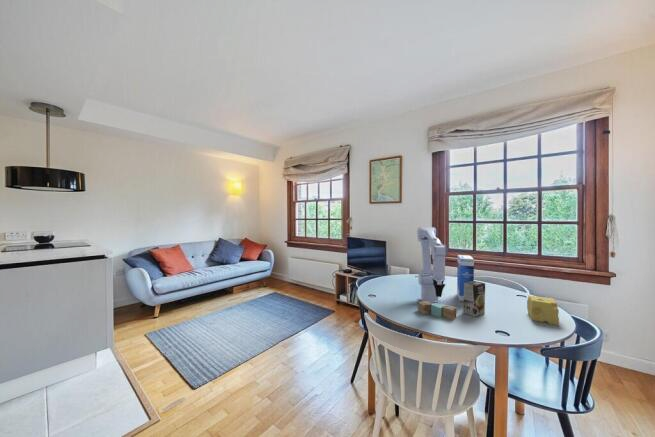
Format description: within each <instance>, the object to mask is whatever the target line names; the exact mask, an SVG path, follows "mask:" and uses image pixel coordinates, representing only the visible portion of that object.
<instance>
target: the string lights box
mask: <svg viewBox="0 0 655 437" xmlns="http://www.w3.org/2000/svg"><path fill="white" fill-rule="evenodd" d="M456 264H457V275H456V277H457V282H456V283H457V285H456V286H457V287H456V288H457V290H456V292H457V293H456V296H457V297H458V301H459V302H463V300H464V283H465V282H470V281H475V280H474V279H475V274H474V272H475V259H474V258H473V256H471V255H468V254H467V255H465V254H463V255H462V254H457V263H456Z"/></svg>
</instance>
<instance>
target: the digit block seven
mask: <svg viewBox="0 0 655 437" xmlns="http://www.w3.org/2000/svg"><path fill="white" fill-rule="evenodd" d="M444 305H445V306H444V307H443V316H442V318H444V319H448V320H452V321H454V320H455V319H456V318H457V307H456V306H453V305H452V306H451V305H448V304H444Z"/></svg>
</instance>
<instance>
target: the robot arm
mask: <svg viewBox="0 0 655 437" xmlns="http://www.w3.org/2000/svg"><path fill="white" fill-rule="evenodd" d="M416 232H417V233H416V234H417V241H418V242H420V246H421V256H422V257H421V259H422V260H421V261H422V269H421V270H420V271H419V272H418V278H417V279H418V284H419V286H420V288H421V289H420V297H417V300H419V301H420V302H421V301H427V302H429V303H431V304H434V303H439V302H440V300H439V298H441V297H442V295H443V290H444V288H445V287H446V283H444V282H445V280H446V257H447V256H448V248H447V245H445V244H442V241H441V240H440V239H439V237H436V236H437V229H436V227H434V226H432V227H425V226H424V227H423V226H422V227H421V226H420V227H418V228H417V231H416Z"/></svg>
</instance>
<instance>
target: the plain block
mask: <svg viewBox="0 0 655 437" xmlns="http://www.w3.org/2000/svg"><path fill="white" fill-rule="evenodd" d="M431 304H432V305H431V314H430V315H432V316H434V317H437V318H443V307H444V306H445V305H446V304H441V303H439V302H433V303H431Z"/></svg>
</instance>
